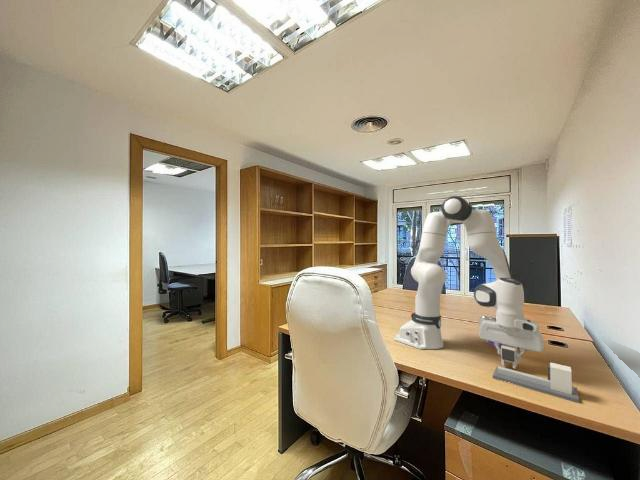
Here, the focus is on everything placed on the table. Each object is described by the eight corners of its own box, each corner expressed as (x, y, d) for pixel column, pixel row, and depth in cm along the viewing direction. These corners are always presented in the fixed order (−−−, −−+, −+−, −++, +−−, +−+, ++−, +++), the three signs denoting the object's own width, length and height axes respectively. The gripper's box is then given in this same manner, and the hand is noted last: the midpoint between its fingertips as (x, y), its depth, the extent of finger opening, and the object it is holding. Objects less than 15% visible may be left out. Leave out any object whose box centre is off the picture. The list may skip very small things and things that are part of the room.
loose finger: (503, 360, 104) (503, 343, 105) (517, 364, 101) (517, 346, 102) (500, 365, 100) (500, 346, 101) (515, 369, 97) (515, 350, 97)
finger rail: (492, 378, 93) (492, 355, 94) (496, 369, 100) (496, 348, 100) (579, 403, 79) (578, 376, 79) (577, 390, 86) (576, 366, 86)
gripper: (477, 316, 106) (476, 350, 106) (542, 328, 92) (542, 367, 92) (480, 313, 111) (480, 346, 111) (544, 324, 97) (544, 362, 97)
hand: (509, 356), depth 101 cm, fingers closed on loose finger, 4 cm apart
